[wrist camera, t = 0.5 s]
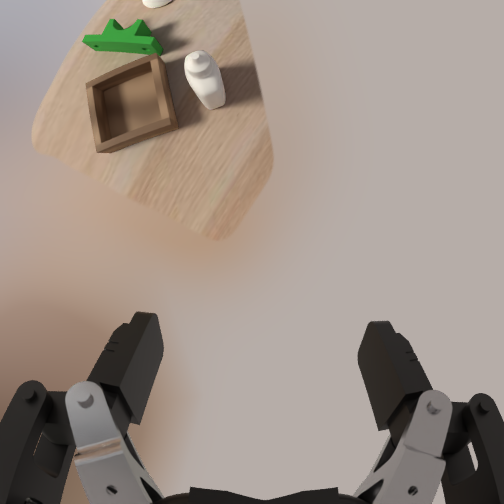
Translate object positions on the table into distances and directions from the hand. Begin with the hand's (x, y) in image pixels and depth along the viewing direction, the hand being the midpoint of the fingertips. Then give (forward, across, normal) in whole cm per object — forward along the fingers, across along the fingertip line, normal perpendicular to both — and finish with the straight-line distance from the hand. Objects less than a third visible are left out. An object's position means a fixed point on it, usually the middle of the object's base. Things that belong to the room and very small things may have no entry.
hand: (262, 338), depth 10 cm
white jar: (+31, +16, -29) cm, 45 cm away
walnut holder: (+28, +17, -10) cm, 34 cm away
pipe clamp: (+30, +19, -21) cm, 41 cm away
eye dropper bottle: (+29, +7, -12) cm, 32 cm away
